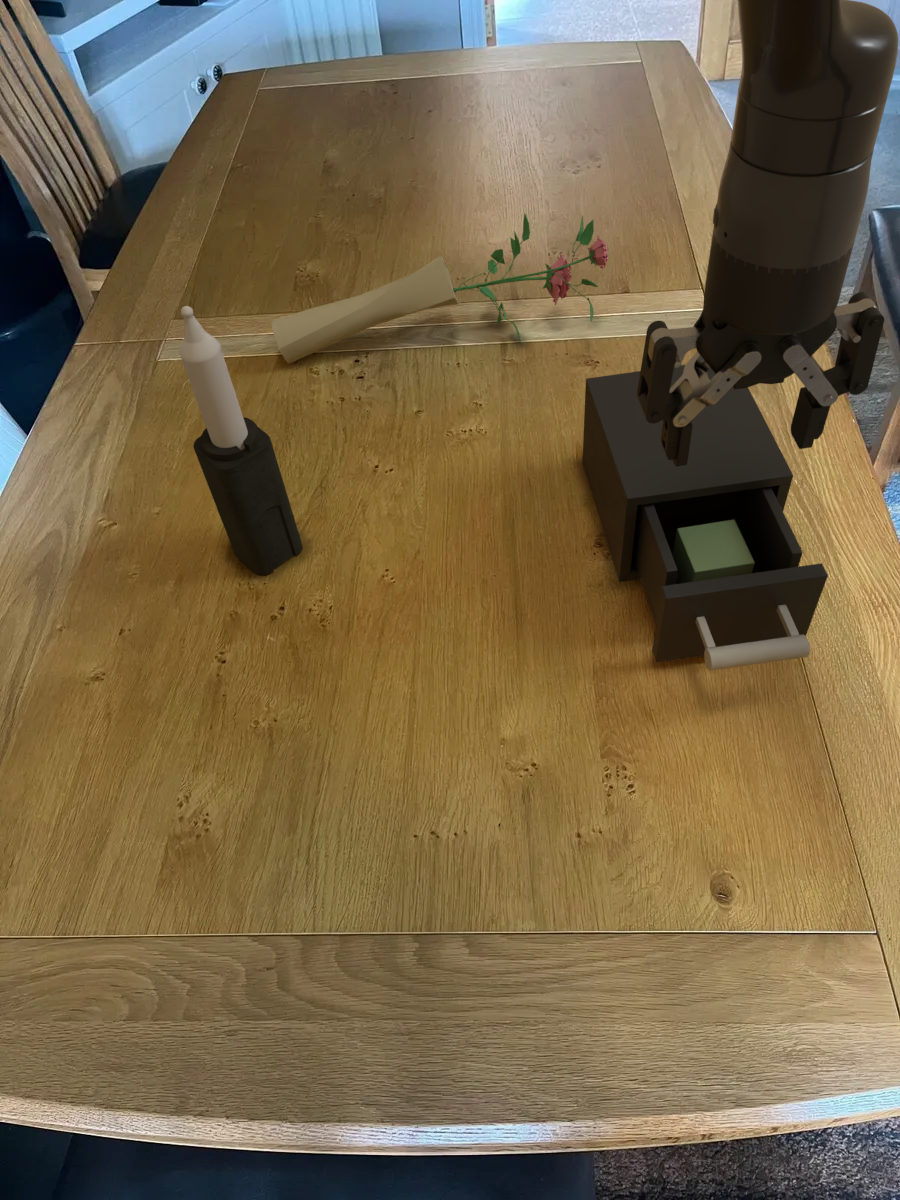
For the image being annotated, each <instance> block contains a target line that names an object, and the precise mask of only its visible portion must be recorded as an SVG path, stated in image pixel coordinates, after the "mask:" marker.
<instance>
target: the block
mask: <svg viewBox="0 0 900 1200" xmlns="http://www.w3.org/2000/svg"><path fill="white" fill-rule="evenodd" d="M673 559H674V562H675V564H676V567H677V570H678V571H677V576H676V581H677V584H681V583H688V582H695V581H702V580H709V579H716V578H723V577H730V576H737V575H744V574H751V573H752V571H753V567H754V563H755V562H754V560H753V558H752V556H751V554H750V552H749V549H748V547H747V545H746V543H745V541H744V539H743V537H742V534H741V532H740V530H739V528H738V526H737V524H736V522H735V520H728V521H721V522H715V523H709V524H702V525H696V526H690V527H683V528H677V532H676V538H675V544H674V551H673Z"/></svg>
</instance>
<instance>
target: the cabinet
mask: <svg viewBox="0 0 900 1200" xmlns="http://www.w3.org/2000/svg"><path fill="white" fill-rule="evenodd" d="M685 365H686V364H681V366H680V367H679V368H674V370H673V375H672V380H671V386H670V388H671V387H672V386H673V385H674V383H675V382H676V381H677V380H678V379H679V378H680V377H681V376H682V374H683V370H684V367H685ZM640 371H641V370H638V371H631V372H630V371H629V372H623V373H617V374H610V375H601V376H594V377H587V378H585V392H584V393H585V394H584V412H583V413H584V415H583V436H582V437H583V438H582V463H581V464H582V466H583V470H584V474H585V476H586V479H587V483H588V486H589V490H590V492H591V496H592V500H593V502H594V505H595V509H596V511H597V515H598V519H599V522H600V524H601V527H602V531H603V535H604V537H605V540H606V544H607V548H608V550H609V554H610V557H611V561H612V563H613V566H614V570H615V573H616V575H617V576H616V577H617V580H618V582H627V581H633V580H640V577H639V574H638V571H637V568H636V565H635V562H634V559H633V556H632V552H633V543H634V534H635V525H636V516H637V507H638V505H643V504H650V503H657V502H664V501H672V500H679V499H686V498H693V497H700V496H707V495H714V494H721V493H728V492H735V491H742V490H749V489H756V488H763V487H770V486H771V488H772V490H773V492H774V494H775V496H776V499H777V501H778V503H779V505H780V507H781V509H782V511H783V512H784V510H785V507H786V503H787V499H788V496H789V493H790V488H791V485H792V481H793V478H794V474H793V472H792V470H791V468H790V466H789V464H788V462H787V460H786V458H785V456H784V455H783V452H782V451H781V449H780V447H779V445H778V442H777V441H776V438H775V436H774V435H773V433H772V431H771V429H770V428H769V425H768V423H767V422H766V420H765V418H764V415H763V414H762V412H761V410H760V408H759V406H758V403H757V402H756V400H755V397H753V394H752V392H751V391H750V389H749V388H750V387H748V388H742V389H734V387H733V386H732V387H731V388H730V389H729V390H728V391H727V393H726V394H725V395H724V396H723V397H722V398H721V399H720V400H719V401H718V402H717V403H716V404H714V405H712V406H710V405H707V406H706V407H705V408H704V409H703V410H702V411H701V412H700V413H699V414H698V415H697V416H696V417H695V418H694V419H693V420H692V421H691V423H692V425H693V427H692V434H691V441H690V447H689V454H688V461H687V465H684V466H677V467H676V466H675V465H674V462H673V460H668V458H667V456H666V453H665V451H664V448H663V446H662V443H661V435H662V426H663V420H661V421H660V422H658V423H649V422H648V421H647V420H646V417H645V415H644V412H643V410H642V407H641V405H640V402H639V399H638V397H637V390H638V383H639V377H640ZM707 375H708V378H709V380H711V379H712V378H713V377H714V376H715V375H716V374H715V373H714V371H713V370H712V369H711V368H709V370H708V373H707ZM686 399H687V398H686ZM686 399H685V400H686Z"/></svg>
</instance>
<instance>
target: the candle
mask: <svg viewBox="0 0 900 1200" xmlns="http://www.w3.org/2000/svg"><path fill="white" fill-rule="evenodd" d="M180 314H181V316H182V317H183V339H182V342H181V345H180V348H179V356H180V359H181V362H182V365H183V368H184V370H185V373H186V375H187V378H188V381H189V383H190V386H191V390H192V392H193V396H194V397H195V400H196V403H197V406H198V408H199V411H200V414H201V416H202V419H203V422H204V425H205V427H206V428H205V429H204V430H203V431H202V433H201V435H200V436H199V437H197V438H196V439H195V440H194V442H193V445H192V446H193V450H194V452H195V455H196V458H197V460H198V463H199V465H200V468H201V472H202V474H203V476H204V478H205V481H206V484H207V487H208V489H209V491H210V495H211V497H212V499H213V502H214V504H215V507H216V510H217V512H218V515H219V518H220V520H221V523H222V525H223V527H224V530H225V533H226V535H227V538H228V541H229V543H230V546H231V548H232V552H233V553H234V556H235V557H236V558H237V559H238V560H239V561H240V562H241V563H243V564H244V565H245V566H246V567H247V568H248V569H249V570H250V571H251V572H252V573H253V574H254V575H257V576H260V577H261V576H263V577H264V576H268V575H270V574H273V573H274V570H275V569H278V568H279V567H280V566H282V565H283V564H284V563H286V562H287V561H289V560H290V559H292V558H293V557H297V556H299V555H301V553H302V551H303V543H302V539H301V536H300V533H299V529H298V526H297V522H296V520H295V515H294V512H293V509H292V506H291V503H290V498H289V496H288V493H287V489H286V485H285V483H284V479H283V476H282V472H281V469H280V465H279V463H278V459H277V455H276V453H275V450H274V445H273V442H272V439H271V436H270V435H269V434H268V433H267V432H265V430H263V429H262V428H260V427H259V426H258V425H257V423H256V422H255V421H254V420H252V419H250V418H249V417H245V416H244V415H243V412H242V409H241V405H240V402H239V400H238V397H237V394H236V391H235V388H234V384H233V381H232V377H231V375H230V372H229V369H228V366H227V363H226V359H225V356H224V353H223V350H222V346H221V344H220V341H218V339H217V338H215V337H214V335H211V334H210V333H208V332H207V331H206V330H205V329H204V328H203V326H202V325H201V323H200V322H199V321H198V319H197V318H196V317H195V316H194V309H193V308H192V307H191V306H189V305H184V306H183V307H182V308H181V310H180Z"/></svg>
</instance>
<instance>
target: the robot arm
mask: <svg viewBox="0 0 900 1200" xmlns="http://www.w3.org/2000/svg"><path fill="white" fill-rule="evenodd" d="M736 1H737V2H736V3H737V10H738V13H737V14H738V24H739V25H738V26H739V34H740V44H741V45H740V46H741V56H742V58H741V61H742V62H741V63H742V64H741V72H740V77H739V83H738V89H737V95H736V101H735V102H736V103H735V109H734V116H733V122H732V123H733V124H732V129H731V137H730V143H729V148H728V152H727V157H726V160H725V164H724V167H723V170H722V174H721V177H720V182H719V187H718V192H717V193H718V194H717V200H716V204H715V206H714V208H713V213H712V224H713V229H712V236H711V243H710V250H709V258H708V264H707V271H706V278H705V284H704V292H703V306H702V311H701V312H700V313H701V314H700V315H699V317H698V319H696V321H695V323H694V324H693V326H690V327H689V326H688V327H677V328H668V326H667V324H666V322H665V321H663V320H655V321H653V322H651V323H650V324H649V325H648V327H647V329H646V335H645V340H644V346H643V351H642V352H643V353H642V357H641V358H642V359H641V365H640V370H639V371H640V377H639V383H638V390H637V397H638V399H639V402H640V405H641V407H642V410H643V412H644V415H645V417H646V420H647V421H648V422H649V423H658V422H660V421H661V420H663V426H662V435H661V443H662V446H663V448H664V451H665V453H666V456H667V458H668V460H673V462H674V465H675V466H676V467H677V466H684V465H687V461H688V454H689V447H690V441H691V434H692V427H693V425H692V423H691V421H692V420H693V419H694V418H695V417H696V416H697V415H698V414H699V413H700V412H701V411H702V410H703V409H704V408H705V407H706V406H707V405H710V406H712V405H714V404H716V403H717V402H718V401H719V400H720V399H721V398H722V397H723V396H724V395H725V394H726V393H727V391H728V390H729V389H730V388H731V387H732V386H733V387H734V389H742V388H751V387H754V386H756V385H759V384H763V385H776V384H783V383H784V381H785V379H786V378H789V377H791V376H792V375H793V374H795V375H796V377H797V378H798V379H799V380H800V382H801V383H802V384H803V385H804V386H803V387H800V389H799V393H798V396H797V401H796V405H795V408H794V412H793V416H792V421H791V425H790V433H791V436H792V438H793V440H794V442H795V444H796V445H797V448H798V449H799V450H803V449H810V448H811V449H812V447H813V445H814V441H815V440H819V438H820V437H821V436H822V435H823V433H824V428H825V426H826V423H827V419H828V415H829V412H830V408H831V406H832V405H833V404H834V403H836V402H837V400H838V398H839V397H840V396H842V395H845V394H847V393H849V394H851V395H853V396H857V395H860V394H862V393H864V392H865V391H866V390H867V389H868V387H869V384H870V379H871V376H872V372H873V367H874V364H875V360H876V356H877V352H878V348H879V345H880V344H879V343H880V340H881V335H882V333H883V328H884V324H885V316H884V315H883V314H882V312H881V311H880V309H879V308H878V307H877V305H876V303H875V302H874V300H872V299H871V297H870V295H868V293H866V292H865V291H859V292H857V293H854V294H853V295H852V296H851V297H850V298H849V300H848V302H847V303H846V304H842V305H841V304H840V305H838V304H839V301H840V297H841V293H842V290H843V287H844V282H845V279H846V275H847V271H848V267H849V264H850V259H851V256H852V252H853V248H854V245H855V242H856V237H857V234H858V230H859V226H860V223H861V219H862V215H863V211H864V208H865V204H866V200H867V196H868V190H869V185H870V178H871V177H870V176H871V166H872V160H873V155H874V150H875V146H876V142H877V138H878V134H879V130H880V128H881V127H880V126H881V123H882V119H883V114H884V112H885V107H886V103H887V100H888V96H889V92H890V88H891V86H892V81H893V77H894V74H895V70H896V65H897V60H898V59H897V58H898V51H899V34H898V30H897V28H896V24H895V23H894V21H893V19H892V17H890V16H889V15H888V14H887V13H886V12H884V11H883V10H882V9H880V8H879V7H877V6H874V5H871V4H869V3H866V2H862V1H857V0H736ZM836 329H837V331H838V333H839V334H840V340H839V345H838V350H837V354H836V359H835V364H834V366H833V367H831V368H828V369H826V370H824V369H823V368H822V366H821V365H820V364H819V363H818V361H817V360H816V358H815V357H814V356H813V355H814V354H815V353H816V352H818V350H819V349H820V348H821V347H822V346H823V345H824V344H825V343H826V342H827V341H828V340H829V339H830V338H831V337H832V336H833V335H834V333H835V331H836ZM695 349H696V352H695V354H694V355H692V357H691V358H690V359H689V360H688V361H687V362H686V363H685V364H684V365H685V367H684V370H683V374H682V376H681V377H680V378H679V379H678V380H677V381H676V382H675V383H674V385H673V386H672V387H671V388H670V386H671V380H672V375H673V370H674V368H679V367H680V366H681V365H682V362H683V360H684V358H685V356H686V354H687V353H688V352H690V351H692V350H695ZM709 368H711V369H712V370H713V371H714V373H715V374H716V375H715V376H714V377H713V378H712V379H711V380H709V378H708V375H707V373H708V370H709ZM686 398H687V399H686ZM685 399H686V400H685Z"/></svg>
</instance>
